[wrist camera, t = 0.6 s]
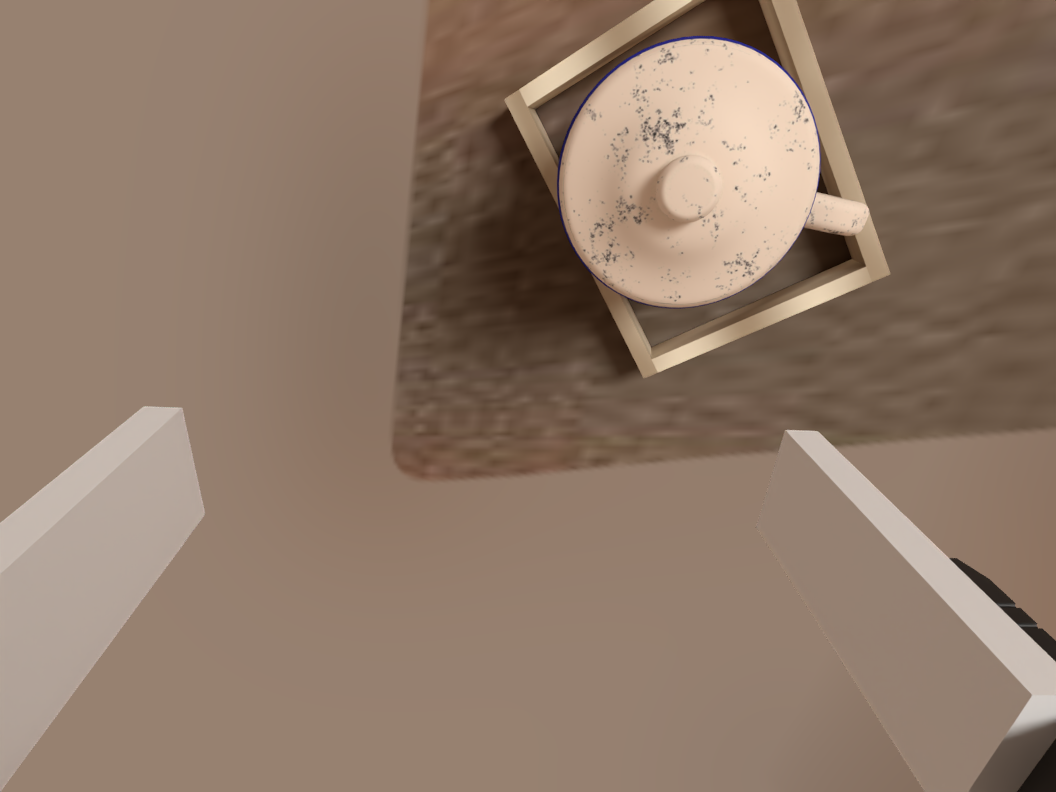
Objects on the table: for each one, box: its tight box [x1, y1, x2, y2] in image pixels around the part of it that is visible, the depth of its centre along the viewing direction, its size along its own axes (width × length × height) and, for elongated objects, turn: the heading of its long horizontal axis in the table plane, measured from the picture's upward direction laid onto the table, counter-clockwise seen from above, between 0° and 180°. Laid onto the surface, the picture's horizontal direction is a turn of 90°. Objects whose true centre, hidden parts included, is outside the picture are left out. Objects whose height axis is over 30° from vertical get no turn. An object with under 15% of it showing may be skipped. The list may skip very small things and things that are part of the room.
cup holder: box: [504, 0, 890, 378], centre depth 27 cm, size 12×15×2 cm
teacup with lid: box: [557, 36, 869, 308], centre depth 23 cm, size 12×9×12 cm
